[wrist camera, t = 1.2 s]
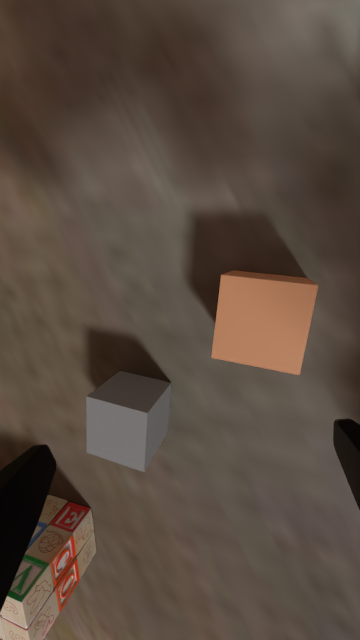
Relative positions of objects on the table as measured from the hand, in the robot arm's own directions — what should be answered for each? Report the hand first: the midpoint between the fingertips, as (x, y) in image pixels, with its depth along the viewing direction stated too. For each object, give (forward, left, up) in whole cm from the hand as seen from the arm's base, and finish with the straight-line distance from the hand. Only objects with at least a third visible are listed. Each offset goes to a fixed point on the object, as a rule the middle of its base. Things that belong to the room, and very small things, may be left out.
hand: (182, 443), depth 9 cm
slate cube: (+7, +8, -13) cm, 17 cm away
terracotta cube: (-2, -2, -13) cm, 14 cm away
